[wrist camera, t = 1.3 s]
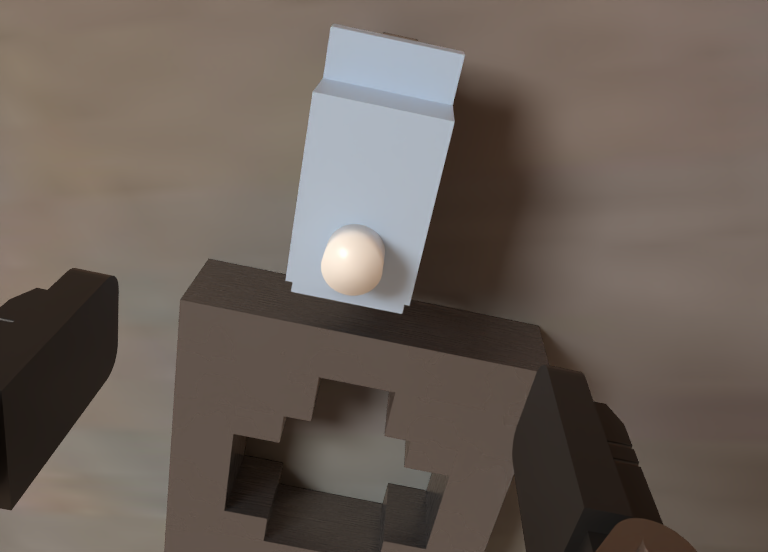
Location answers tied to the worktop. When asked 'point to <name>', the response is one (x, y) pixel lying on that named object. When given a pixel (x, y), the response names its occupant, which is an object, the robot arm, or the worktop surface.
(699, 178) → the worktop surface
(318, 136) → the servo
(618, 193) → the worktop surface
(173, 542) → the block with stepped hole
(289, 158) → the worktop surface
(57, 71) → the worktop surface
